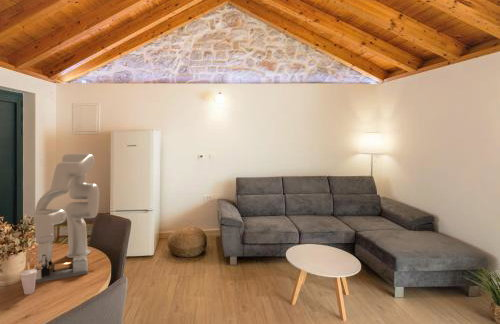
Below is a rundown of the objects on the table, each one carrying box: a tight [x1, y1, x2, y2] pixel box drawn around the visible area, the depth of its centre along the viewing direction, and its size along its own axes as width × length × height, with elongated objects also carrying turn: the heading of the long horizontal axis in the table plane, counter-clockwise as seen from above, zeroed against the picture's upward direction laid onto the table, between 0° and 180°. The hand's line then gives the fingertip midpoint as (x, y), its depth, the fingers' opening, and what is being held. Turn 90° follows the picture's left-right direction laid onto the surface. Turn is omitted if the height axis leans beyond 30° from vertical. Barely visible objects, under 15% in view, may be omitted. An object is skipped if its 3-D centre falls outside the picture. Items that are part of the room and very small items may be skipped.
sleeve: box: [72, 255, 88, 273], centre depth 157 cm, size 6×6×6 cm
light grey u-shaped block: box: [33, 264, 42, 280], centre depth 150 cm, size 6×3×5 cm, turn 26°
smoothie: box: [18, 262, 37, 295], centre depth 137 cm, size 6×6×14 cm
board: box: [35, 265, 89, 284], centre depth 154 cm, size 8×24×1 cm, turn 116°
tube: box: [37, 261, 73, 274], centre depth 153 cm, size 4×16×4 cm, turn 116°
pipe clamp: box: [25, 263, 42, 270], centre depth 156 cm, size 12×4×6 cm, turn 168°
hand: (47, 272), depth 151 cm, fingers open, 7 cm apart
